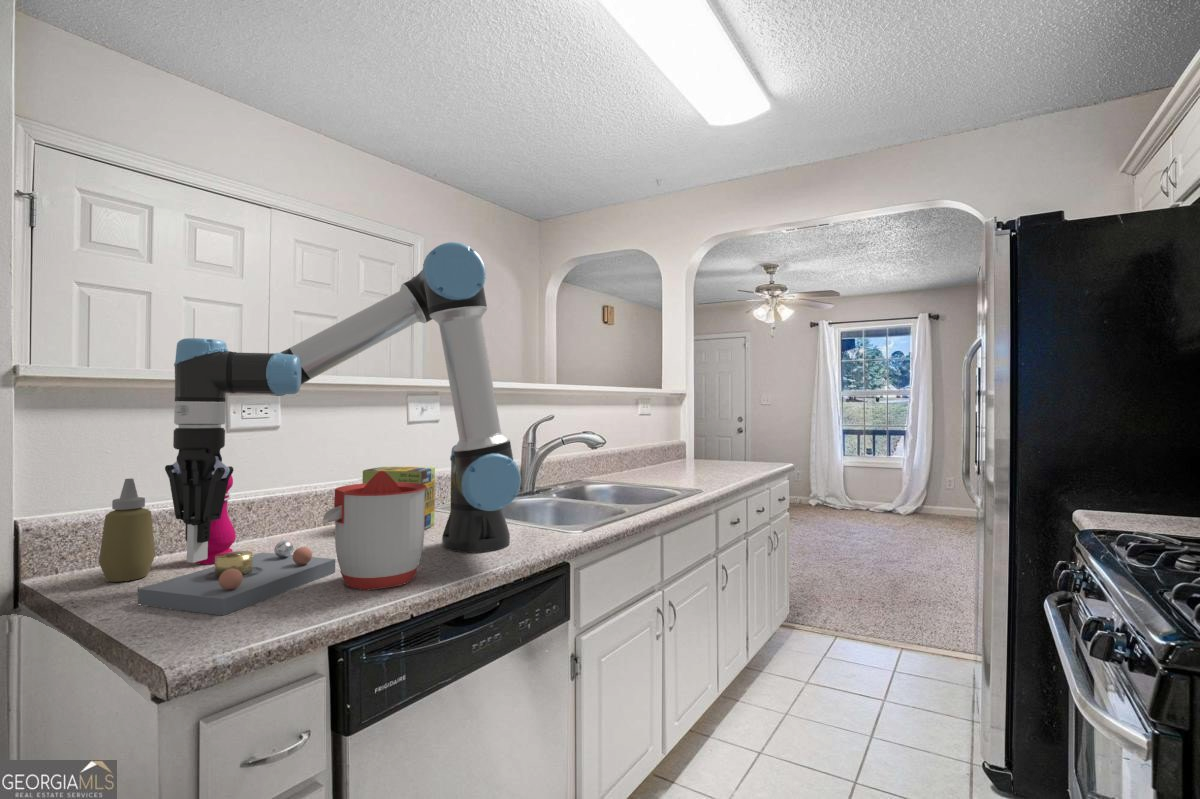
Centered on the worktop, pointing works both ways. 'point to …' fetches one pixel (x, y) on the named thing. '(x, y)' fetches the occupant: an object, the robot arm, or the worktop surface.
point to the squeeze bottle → (127, 538)
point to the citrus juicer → (378, 531)
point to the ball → (283, 549)
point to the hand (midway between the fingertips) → (197, 560)
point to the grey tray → (256, 586)
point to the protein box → (412, 476)
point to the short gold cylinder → (233, 562)
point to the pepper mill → (220, 532)
